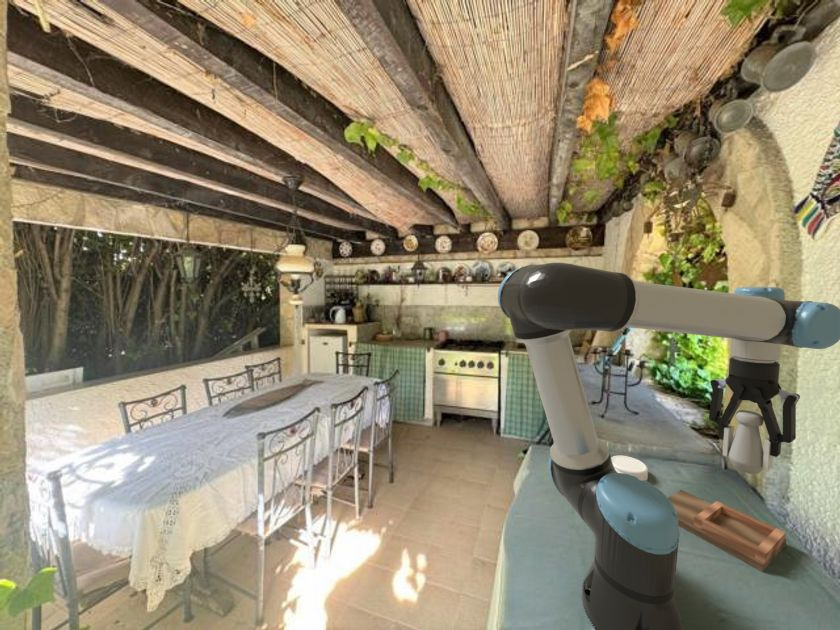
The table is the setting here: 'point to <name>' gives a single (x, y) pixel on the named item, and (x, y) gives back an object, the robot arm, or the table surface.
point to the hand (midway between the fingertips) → (746, 460)
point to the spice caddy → (729, 529)
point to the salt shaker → (747, 443)
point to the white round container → (630, 467)
